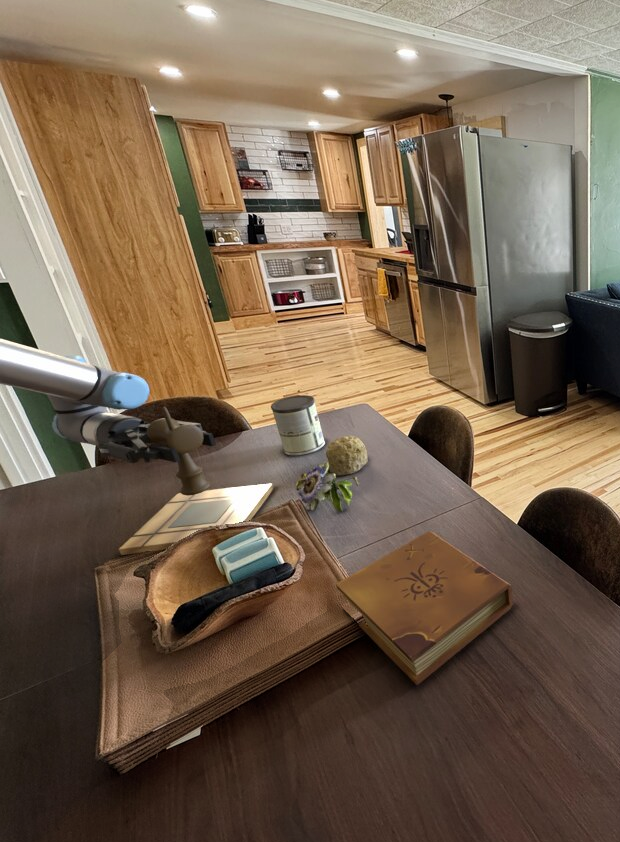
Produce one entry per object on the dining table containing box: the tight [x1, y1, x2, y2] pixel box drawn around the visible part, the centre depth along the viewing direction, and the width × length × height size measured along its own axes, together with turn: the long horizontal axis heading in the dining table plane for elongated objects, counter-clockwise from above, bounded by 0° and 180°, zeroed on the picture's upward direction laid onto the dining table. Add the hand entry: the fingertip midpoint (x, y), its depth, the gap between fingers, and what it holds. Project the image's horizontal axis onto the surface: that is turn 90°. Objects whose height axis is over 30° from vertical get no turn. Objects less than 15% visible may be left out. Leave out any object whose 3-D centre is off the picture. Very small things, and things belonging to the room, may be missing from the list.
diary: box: [335, 530, 514, 686], centre depth 81 cm, size 23×19×6 cm
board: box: [118, 483, 275, 556], centre depth 104 cm, size 20×20×2 cm
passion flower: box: [295, 461, 360, 512], centre depth 109 cm, size 11×11×12 cm
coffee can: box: [270, 394, 326, 456], centre depth 133 cm, size 10×10×14 cm
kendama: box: [147, 406, 211, 496], centre depth 98 cm, size 6×10×20 cm, turn 64°
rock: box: [325, 435, 369, 476], centre depth 125 cm, size 10×11×10 cm
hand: (194, 447), depth 96 cm, fingers closed on kendama, 6 cm apart
